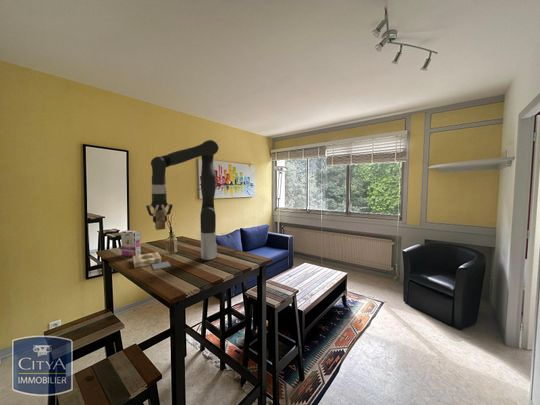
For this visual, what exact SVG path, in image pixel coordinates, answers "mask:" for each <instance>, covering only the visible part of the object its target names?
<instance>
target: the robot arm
mask: <svg viewBox="0 0 540 405" xmlns="http://www.w3.org/2000/svg"><path fill="white" fill-rule="evenodd" d="M219 148H220V147H219V144H218V143H217V141H215V140H213V139H207V140H205V141H203V143H201V144H198V145H196V146H192V147H188V148H185V149H180V150H177V151H173V152H170V153H168V154H166V155H165V154H164V155H161V156H155V157H154V158H152V159H151V161H150V166H151V174H152V175H151V202H150V204H147V205H145V207H146V210H147V213H148V215H149V216H151V217H152V222H153V223H156V210H165V223H166V222H167V221H168V215H171V212H172V210H173V204H171V203H168V202H167V184H166V168H169V167H171V166H177V165H179V164H182V163H183V164H184V163H185V162H187V161H191V160H193V159H197V158H199V157H201V171H200V189H201V190H200V191H201V197H202V198H201V199H202V202H201V210H200V215H199V216H200V218H199V219H200V259H201V260H204V261H210V260H211V261H212V260H214V259H216V257H217V258H218V247H217V246H218V245H217V243H216V241H217V240H216V239H217V238H216V227H217V226H216V225H217V222H216V220H217V218H216V214H217V213H216V211H215V210H216V209H215V194H216V187H217V175H216V174H217V173H216V171H215V166H214V155H216V154H217V153H218V151H219ZM166 207H167V208H168V209H167V210H166ZM151 208H153V210H152V211H153V212H152V211H151Z"/></svg>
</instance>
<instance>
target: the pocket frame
mask: <svg viewBox="0 0 540 405" xmlns="http://www.w3.org/2000/svg"><path fill="white" fill-rule="evenodd" d="M162 259H163V258H162V256H161V255H160V253H159V252H158V251H156V252H150V253H143V254H142V253H141V255H136V256H133V257H132V261H133V262H132V263H133V265H134V266H133V267H134V269H136V268H137V269H138V268H143V267H149V266H152V264H156V263H161V262H162Z"/></svg>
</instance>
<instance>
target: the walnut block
mask: <svg viewBox="0 0 540 405" xmlns="http://www.w3.org/2000/svg"><path fill="white" fill-rule="evenodd" d="M165 210H166V209H165ZM165 210H156V223H155V225H154V226H155V228H154V229H155V230H156V231H160V230H166V222H165Z"/></svg>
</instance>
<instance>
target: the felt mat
mask: <svg viewBox="0 0 540 405" xmlns="http://www.w3.org/2000/svg"><path fill="white" fill-rule="evenodd" d="M151 267H152V269H153V270H154V271H159V270H162V269H163V270H164V269H167V268H172V265H171V263H170V262H169V261H163V262H161V263H156V264H152V265H151Z"/></svg>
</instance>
